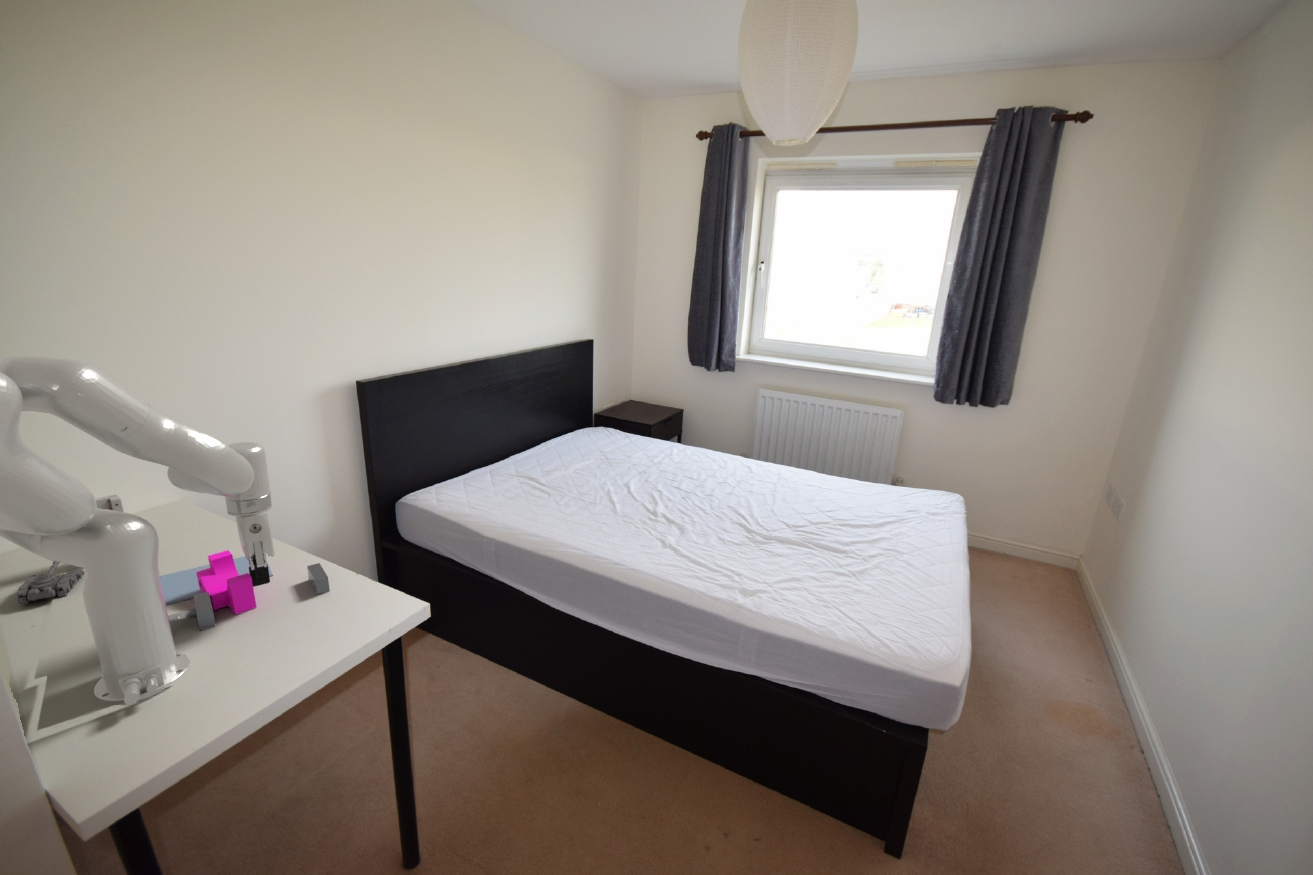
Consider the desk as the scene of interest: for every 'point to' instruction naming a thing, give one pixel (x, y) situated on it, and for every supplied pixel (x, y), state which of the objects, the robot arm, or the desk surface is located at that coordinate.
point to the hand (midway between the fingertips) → (260, 583)
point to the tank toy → (48, 584)
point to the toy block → (226, 584)
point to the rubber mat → (193, 581)
